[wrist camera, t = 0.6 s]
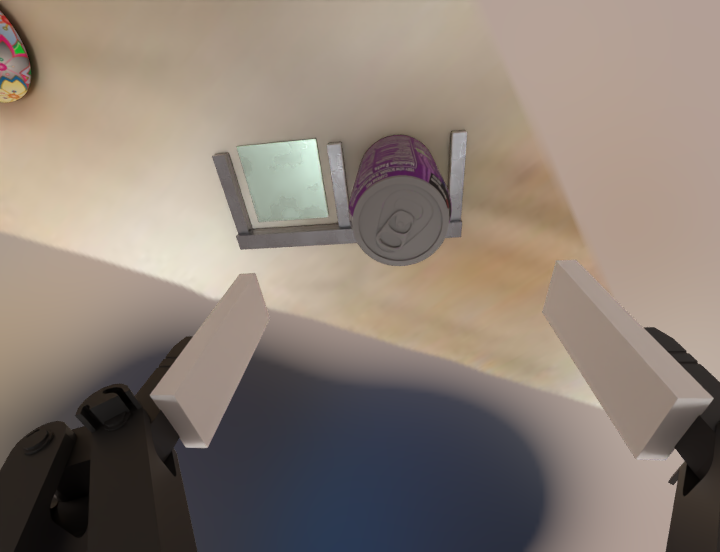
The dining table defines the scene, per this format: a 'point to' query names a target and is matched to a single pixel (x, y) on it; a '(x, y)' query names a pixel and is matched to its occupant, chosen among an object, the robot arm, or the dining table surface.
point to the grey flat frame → (307, 192)
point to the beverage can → (399, 202)
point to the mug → (12, 64)
